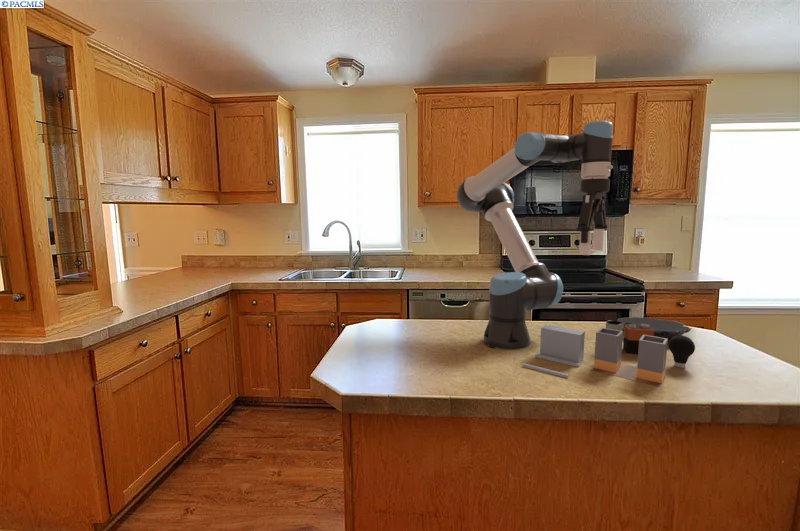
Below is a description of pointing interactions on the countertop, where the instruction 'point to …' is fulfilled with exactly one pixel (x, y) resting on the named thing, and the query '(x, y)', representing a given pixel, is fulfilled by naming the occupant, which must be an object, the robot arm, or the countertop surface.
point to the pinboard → (628, 374)
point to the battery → (635, 337)
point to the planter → (614, 325)
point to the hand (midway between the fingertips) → (591, 252)
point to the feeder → (560, 348)
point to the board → (658, 326)
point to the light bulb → (681, 349)
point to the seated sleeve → (608, 349)
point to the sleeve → (652, 358)
